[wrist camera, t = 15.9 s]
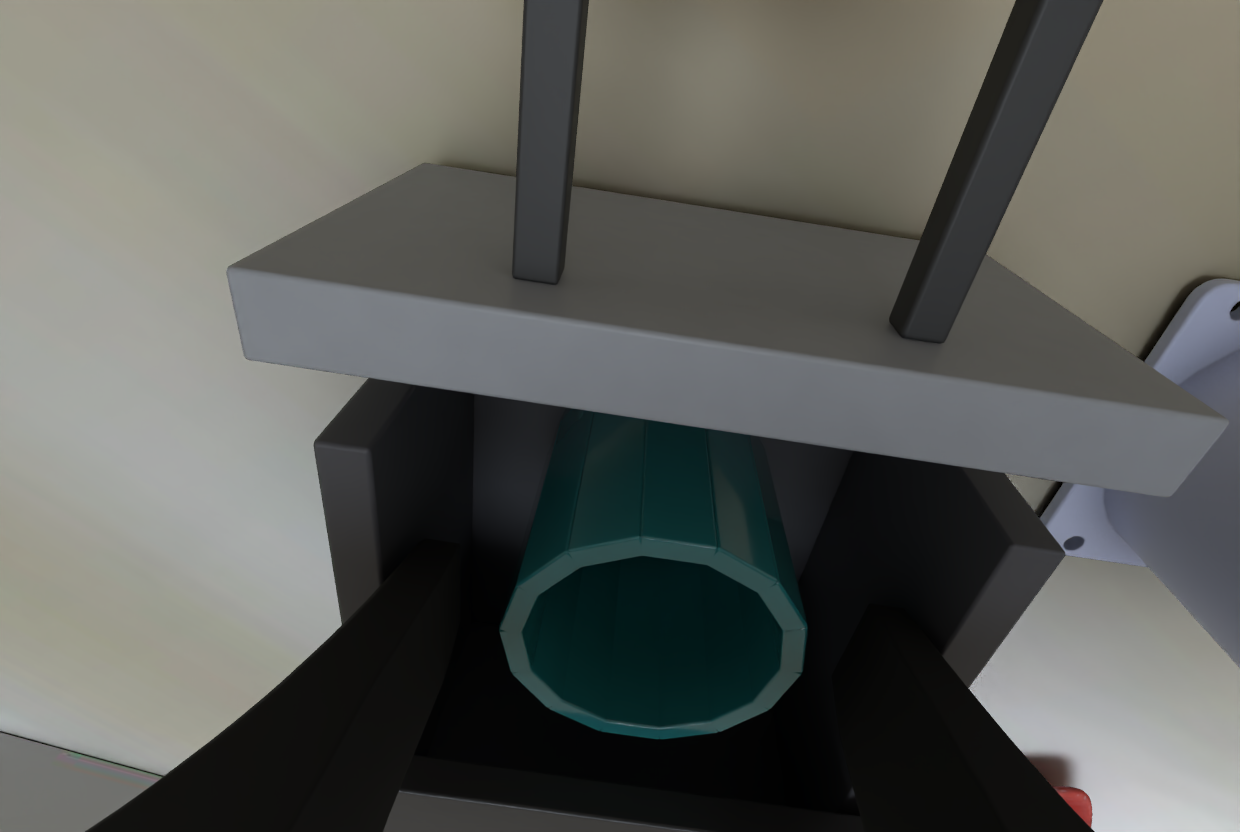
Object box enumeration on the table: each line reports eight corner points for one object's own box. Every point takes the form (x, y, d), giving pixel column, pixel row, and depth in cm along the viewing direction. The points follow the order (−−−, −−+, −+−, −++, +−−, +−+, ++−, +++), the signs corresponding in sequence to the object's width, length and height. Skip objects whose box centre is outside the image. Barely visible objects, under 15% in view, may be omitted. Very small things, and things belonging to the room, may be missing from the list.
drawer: (411, -192, 10) (55, -510, 4) (1128, -71, 10) (1743, -211, 4) (437, 603, 20) (344, 835, 14) (796, 655, 20) (848, 903, 14)
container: (735, 547, 16) (764, 755, 12) (543, 519, 16) (493, 717, 11) (789, 383, 14) (853, 567, 9) (559, 349, 13) (503, 516, 9)
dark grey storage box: (422, 483, 18) (266, 773, 11) (850, 545, 18) (967, 869, 11) (434, 750, 26) (346, 1022, 19) (737, 791, 26) (763, 1077, 19)
